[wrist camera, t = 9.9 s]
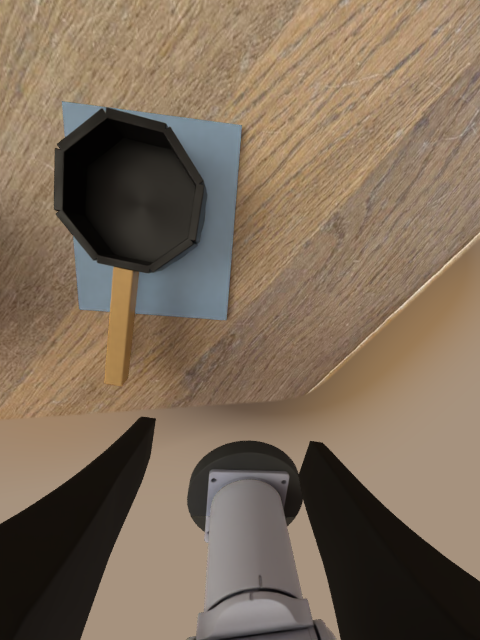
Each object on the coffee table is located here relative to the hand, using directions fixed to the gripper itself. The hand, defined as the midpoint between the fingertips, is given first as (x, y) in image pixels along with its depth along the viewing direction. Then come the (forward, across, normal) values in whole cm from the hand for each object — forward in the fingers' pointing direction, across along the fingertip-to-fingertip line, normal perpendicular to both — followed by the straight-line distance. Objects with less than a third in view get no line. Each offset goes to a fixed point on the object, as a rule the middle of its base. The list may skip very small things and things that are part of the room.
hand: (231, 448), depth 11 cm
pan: (+9, +8, -6) cm, 13 cm away
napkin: (+9, +7, -9) cm, 15 cm away
